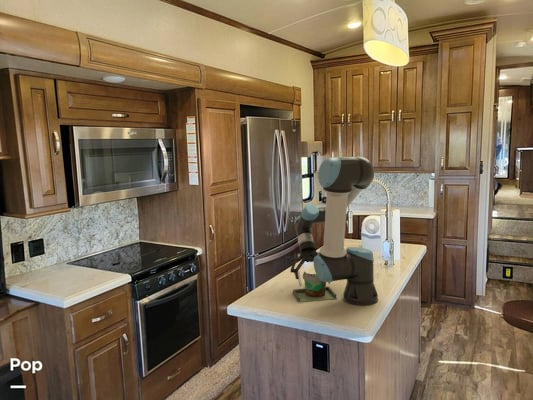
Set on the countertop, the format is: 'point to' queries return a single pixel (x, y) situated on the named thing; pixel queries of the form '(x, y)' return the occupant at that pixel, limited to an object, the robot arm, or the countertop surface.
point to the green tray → (302, 297)
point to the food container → (314, 285)
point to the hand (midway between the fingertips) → (315, 283)
